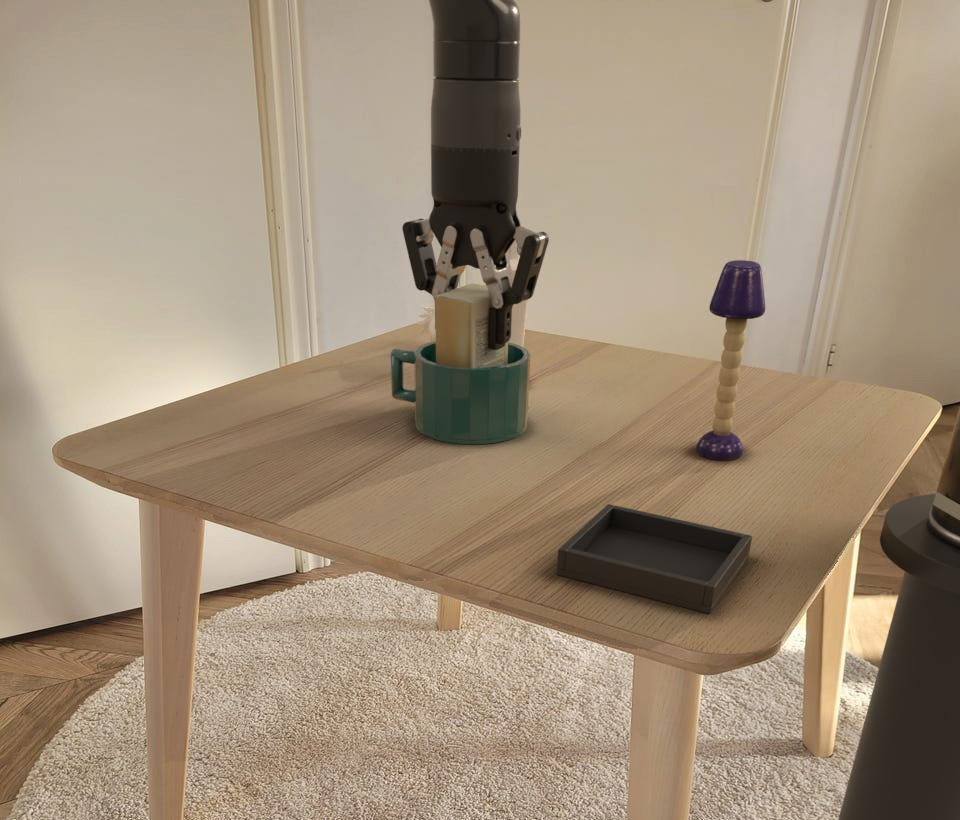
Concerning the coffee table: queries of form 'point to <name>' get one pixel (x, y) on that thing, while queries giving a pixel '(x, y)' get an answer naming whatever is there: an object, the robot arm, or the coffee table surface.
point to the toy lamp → (732, 350)
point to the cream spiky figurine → (428, 322)
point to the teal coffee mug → (465, 396)
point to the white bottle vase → (520, 308)
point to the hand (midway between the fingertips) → (472, 343)
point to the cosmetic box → (465, 329)
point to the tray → (655, 557)
